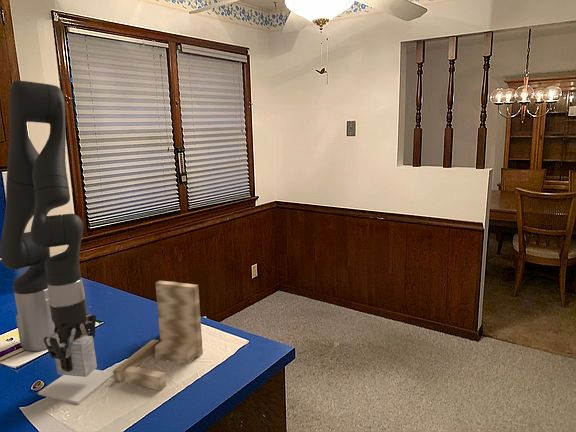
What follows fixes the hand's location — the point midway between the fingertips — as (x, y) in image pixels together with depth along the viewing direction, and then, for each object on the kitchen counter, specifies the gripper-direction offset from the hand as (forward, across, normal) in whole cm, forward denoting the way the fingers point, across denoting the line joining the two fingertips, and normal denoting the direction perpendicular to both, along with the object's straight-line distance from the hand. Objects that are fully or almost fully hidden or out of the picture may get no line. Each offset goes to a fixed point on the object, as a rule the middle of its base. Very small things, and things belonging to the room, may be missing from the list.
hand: (76, 364), depth 105 cm
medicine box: (+2, 0, 0) cm, 2 cm away
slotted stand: (+6, -13, +15) cm, 20 cm away
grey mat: (+5, 0, 0) cm, 5 cm away
